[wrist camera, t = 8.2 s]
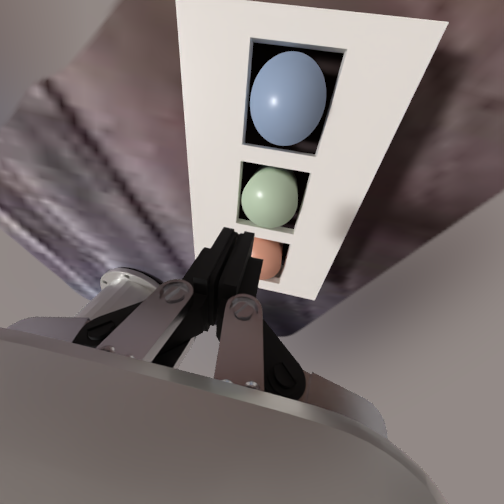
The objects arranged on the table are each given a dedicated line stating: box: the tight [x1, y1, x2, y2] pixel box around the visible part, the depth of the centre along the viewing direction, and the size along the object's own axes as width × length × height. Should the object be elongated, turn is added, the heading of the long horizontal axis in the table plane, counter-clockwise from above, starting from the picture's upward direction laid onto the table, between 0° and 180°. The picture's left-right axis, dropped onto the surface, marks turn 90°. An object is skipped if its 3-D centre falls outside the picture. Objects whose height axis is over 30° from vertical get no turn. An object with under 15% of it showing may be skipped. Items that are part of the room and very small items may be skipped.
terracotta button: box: [251, 237, 283, 280], centre depth 22 cm, size 5×5×4 cm
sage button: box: [241, 165, 298, 228], centre depth 18 cm, size 5×5×4 cm
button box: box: [176, 0, 449, 300], centre depth 18 cm, size 21×14×4 cm, turn 173°
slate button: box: [250, 51, 326, 146], centre depth 14 cm, size 5×5×4 cm
